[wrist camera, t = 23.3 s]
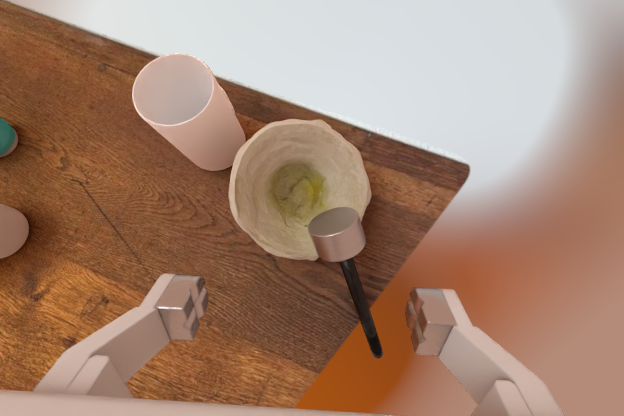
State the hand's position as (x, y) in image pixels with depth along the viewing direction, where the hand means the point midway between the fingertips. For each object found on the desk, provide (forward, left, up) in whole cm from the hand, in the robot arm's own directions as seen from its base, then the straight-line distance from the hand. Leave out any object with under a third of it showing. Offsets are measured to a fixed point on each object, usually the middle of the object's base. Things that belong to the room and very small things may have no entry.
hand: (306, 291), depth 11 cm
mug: (+24, -4, -24) cm, 34 cm away
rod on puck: (+2, -5, -15) cm, 16 cm away
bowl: (+7, -6, -24) cm, 26 cm away
